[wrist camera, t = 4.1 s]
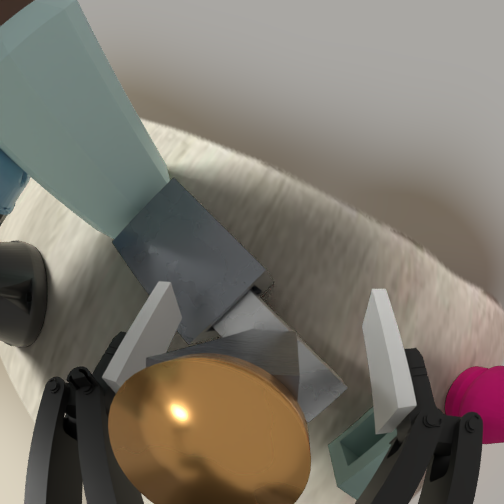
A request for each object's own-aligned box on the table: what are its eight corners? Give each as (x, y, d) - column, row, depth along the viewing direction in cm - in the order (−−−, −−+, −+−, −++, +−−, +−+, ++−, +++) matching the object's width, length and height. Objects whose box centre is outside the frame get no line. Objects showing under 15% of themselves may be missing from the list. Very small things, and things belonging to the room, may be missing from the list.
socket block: (328, 445, 19) (337, 486, 12) (386, 393, 19) (417, 419, 13) (353, 465, 18) (369, 507, 11) (409, 416, 18) (443, 444, 12)
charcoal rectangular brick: (150, 258, 26) (112, 242, 19) (200, 208, 26) (173, 177, 20) (216, 337, 23) (188, 344, 17) (274, 282, 23) (266, 269, 17)
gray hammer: (161, 256, 24) (-11, 165, 7) (194, 223, 24) (51, 84, 7) (303, 408, 19) (306, 596, 2) (342, 373, 19) (457, 515, 2)
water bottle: (121, 266, 25) (-90, 93, 1) (87, 207, 28) (-51, 62, 4) (196, 198, 26) (73, -56, 3) (149, 151, 29) (51, -27, 6)
